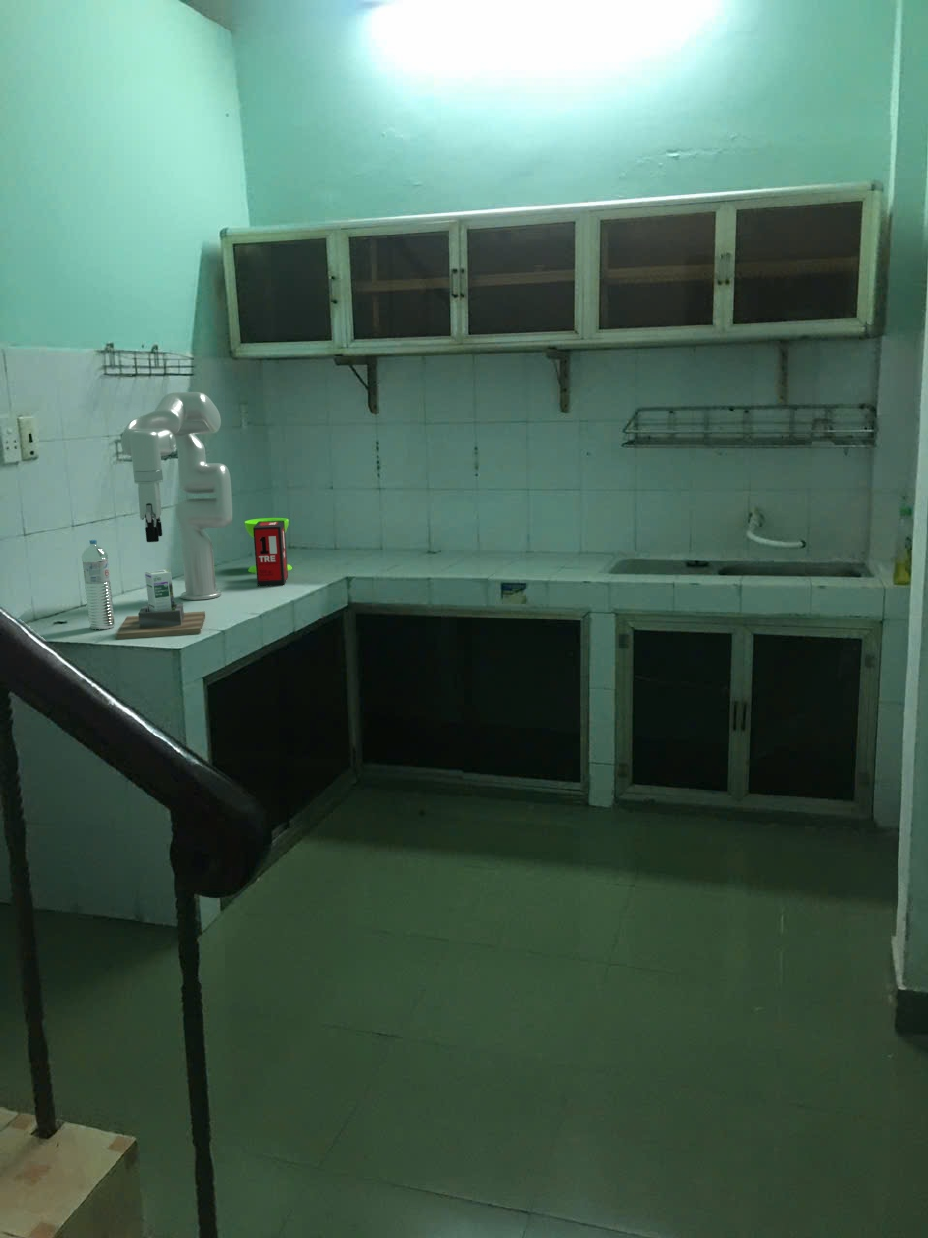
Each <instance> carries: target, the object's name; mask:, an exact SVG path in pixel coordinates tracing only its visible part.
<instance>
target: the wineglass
mask: <svg viewBox="0 0 928 1238" xmlns="http://www.w3.org/2000/svg"><path fill="white" fill-rule="evenodd" d="M259 521H284V523H285V533H287V531H288V530H287V529H288V527H289V521H290V519H288V518H284V517H283V518H282V517H268V518H267V517H266V518H255V519H248V520H245V521H244V527H245V529H246V532H247V533H248V534H249V536H250V537H251V538H253V539H254V531H253V528H254V526H255V525H256V524H257V523H258V522H259ZM287 567H288V571H291V570H292V569H293V567H292V566H291V565H290V564H288V563H287ZM247 572H249V573H250V574H251V573H252V574H257V571H256V564H255V565H252V566H250V567H249V568H248V570H247Z"/></svg>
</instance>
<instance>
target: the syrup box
mask: <svg viewBox="0 0 928 1238" xmlns="http://www.w3.org/2000/svg"><path fill="white" fill-rule="evenodd" d="M144 577H145V585H146V586H145V587H146V593H147V595H146V596H147V605H149V612H156V611H172V610H175V606H174V604H175V598H174V597H175V596H174V587H173V578H172V572H171V571H170V570H168V569H166V568H165V569H160V570H152V571H146V572H144Z"/></svg>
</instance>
